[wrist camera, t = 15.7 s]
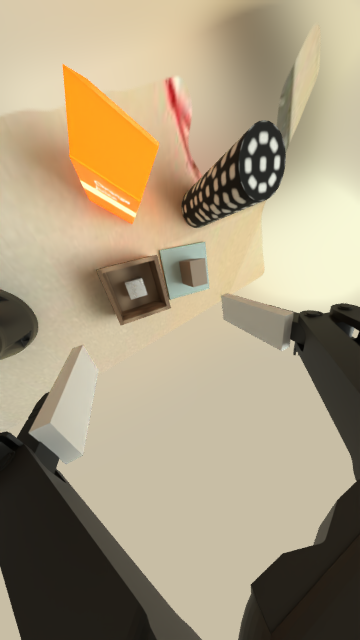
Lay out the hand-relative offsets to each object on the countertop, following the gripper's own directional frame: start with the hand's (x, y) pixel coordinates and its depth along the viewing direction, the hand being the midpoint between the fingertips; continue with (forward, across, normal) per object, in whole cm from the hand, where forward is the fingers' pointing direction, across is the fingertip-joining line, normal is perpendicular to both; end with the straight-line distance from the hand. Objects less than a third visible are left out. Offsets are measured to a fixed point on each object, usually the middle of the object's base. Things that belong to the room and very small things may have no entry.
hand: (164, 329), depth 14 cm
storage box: (+29, 0, 0) cm, 29 cm away
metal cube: (+28, 0, 0) cm, 28 cm away
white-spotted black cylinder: (+29, +21, +14) cm, 38 cm away
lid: (+29, +15, 0) cm, 33 cm away
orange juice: (+29, +3, +19) cm, 35 cm away
